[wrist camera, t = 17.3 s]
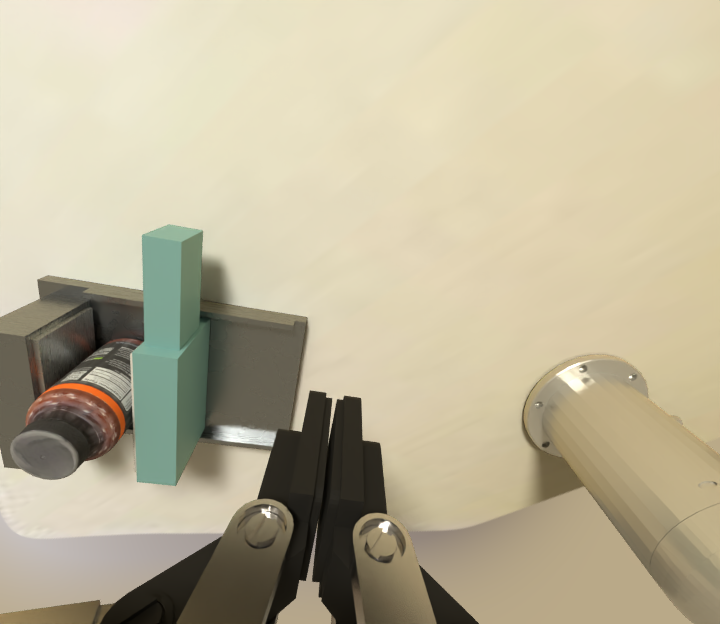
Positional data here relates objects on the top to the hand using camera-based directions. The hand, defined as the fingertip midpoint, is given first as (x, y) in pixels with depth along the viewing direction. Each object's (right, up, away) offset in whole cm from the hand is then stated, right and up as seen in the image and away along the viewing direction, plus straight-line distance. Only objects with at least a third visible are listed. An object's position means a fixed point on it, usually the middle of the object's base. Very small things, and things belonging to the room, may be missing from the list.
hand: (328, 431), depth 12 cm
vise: (-16, -1, +23) cm, 28 cm away
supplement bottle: (-19, -1, +22) cm, 29 cm away
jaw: (-14, +2, +21) cm, 25 cm away
